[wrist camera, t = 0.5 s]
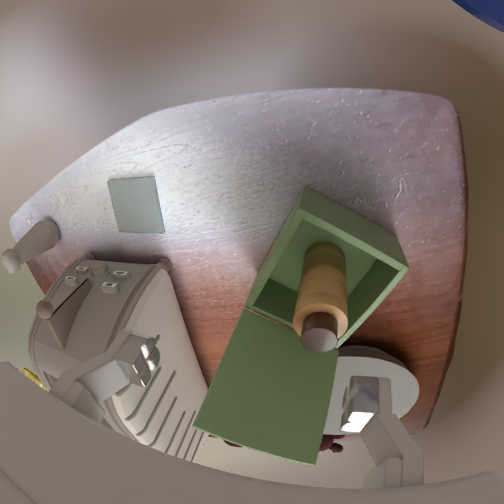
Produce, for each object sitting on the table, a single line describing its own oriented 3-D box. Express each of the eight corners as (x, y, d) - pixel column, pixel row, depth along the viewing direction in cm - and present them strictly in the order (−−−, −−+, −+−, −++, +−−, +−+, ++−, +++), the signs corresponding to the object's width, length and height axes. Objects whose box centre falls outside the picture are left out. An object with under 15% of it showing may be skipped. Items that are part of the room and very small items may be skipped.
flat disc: (247, 339, 45) (240, 360, 42) (424, 322, 36) (430, 344, 32) (284, 418, 57) (281, 434, 54) (407, 410, 48) (408, 427, 44)
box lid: (192, 425, 21) (186, 430, 25) (315, 465, 21) (293, 467, 25) (243, 308, 32) (232, 327, 35) (339, 350, 32) (319, 364, 35)
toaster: (174, 235, 38) (67, 356, 19) (224, 407, 60) (193, 488, 42) (74, 234, 43) (-16, 311, 25) (148, 387, 66) (111, 454, 47)
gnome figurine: (278, 448, 54) (334, 455, 55) (290, 447, 49) (350, 454, 49) (284, 422, 59) (338, 430, 60) (296, 418, 54) (354, 427, 54)
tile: (109, 180, 36) (106, 181, 36) (154, 176, 34) (152, 177, 34) (121, 230, 40) (119, 232, 40) (165, 231, 38) (163, 233, 38)
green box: (304, 184, 30) (298, 207, 25) (397, 236, 31) (409, 268, 25) (257, 273, 38) (243, 307, 32) (338, 312, 38) (337, 348, 32)
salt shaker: (41, 216, 44) (-7, 250, 33) (55, 214, 42) (4, 250, 32) (51, 243, 47) (7, 278, 36) (66, 242, 45) (19, 281, 34)
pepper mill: (304, 239, 33) (290, 317, 22) (347, 242, 32) (352, 321, 21) (303, 275, 35) (288, 356, 25) (342, 278, 34) (343, 361, 24)
